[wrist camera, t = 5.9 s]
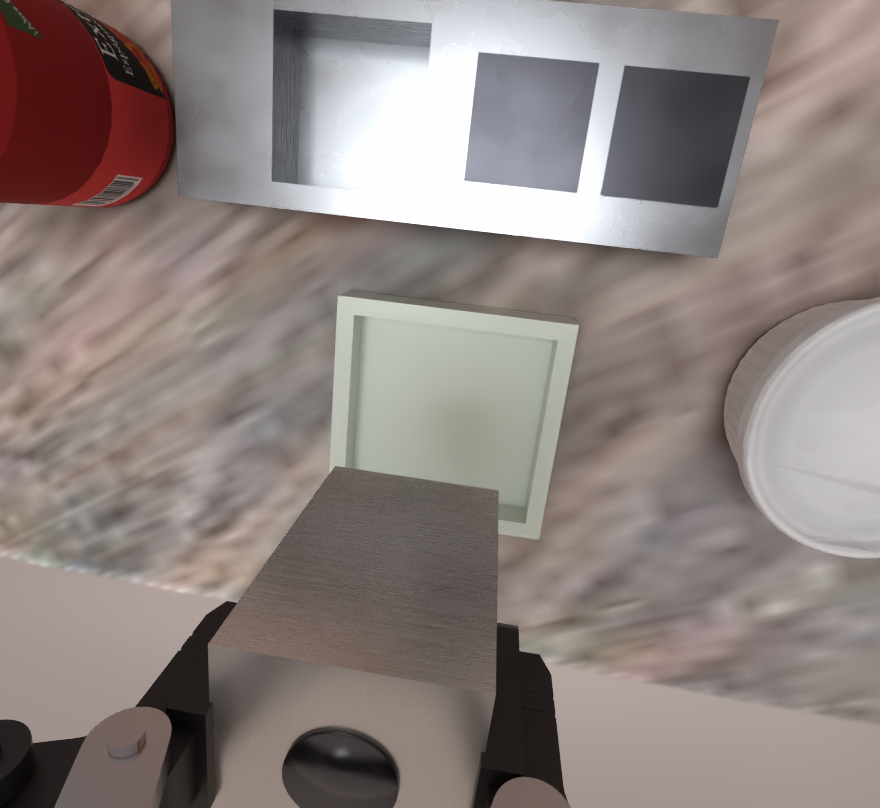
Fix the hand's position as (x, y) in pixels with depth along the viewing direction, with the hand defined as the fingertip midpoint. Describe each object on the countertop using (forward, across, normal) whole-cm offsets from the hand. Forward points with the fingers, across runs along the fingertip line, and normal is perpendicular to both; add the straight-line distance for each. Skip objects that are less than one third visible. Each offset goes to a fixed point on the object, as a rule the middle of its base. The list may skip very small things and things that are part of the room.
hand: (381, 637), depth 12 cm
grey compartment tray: (+17, +1, -13) cm, 21 cm away
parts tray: (+17, 0, 0) cm, 17 cm away
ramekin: (+17, -18, -3) cm, 25 cm away
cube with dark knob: (+4, 0, 0) cm, 4 cm away
